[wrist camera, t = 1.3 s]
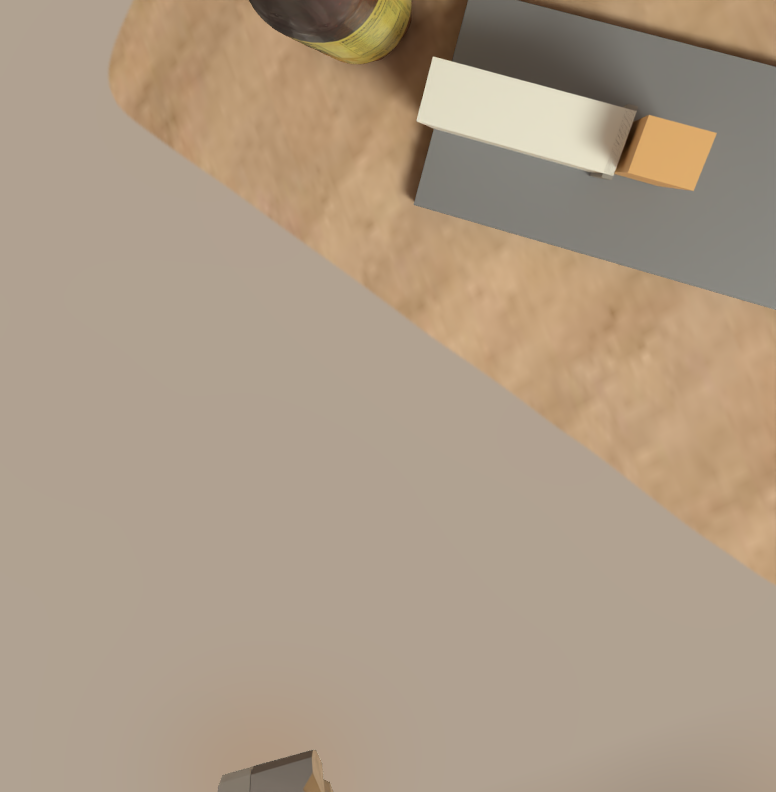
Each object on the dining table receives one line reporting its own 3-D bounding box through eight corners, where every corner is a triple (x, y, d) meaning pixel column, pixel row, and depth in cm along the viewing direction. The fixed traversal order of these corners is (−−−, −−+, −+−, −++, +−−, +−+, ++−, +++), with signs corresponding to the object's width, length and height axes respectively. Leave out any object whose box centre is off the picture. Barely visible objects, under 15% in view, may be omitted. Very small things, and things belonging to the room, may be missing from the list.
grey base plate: (472, -7, 40) (460, -49, 32) (901, 104, 37) (997, 87, 30) (416, 203, 44) (393, 211, 36) (799, 314, 42) (860, 347, 34)
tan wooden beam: (622, 126, 39) (649, 114, 30) (675, 140, 39) (716, 133, 30) (606, 171, 40) (627, 172, 31) (658, 186, 39) (693, 190, 31)
